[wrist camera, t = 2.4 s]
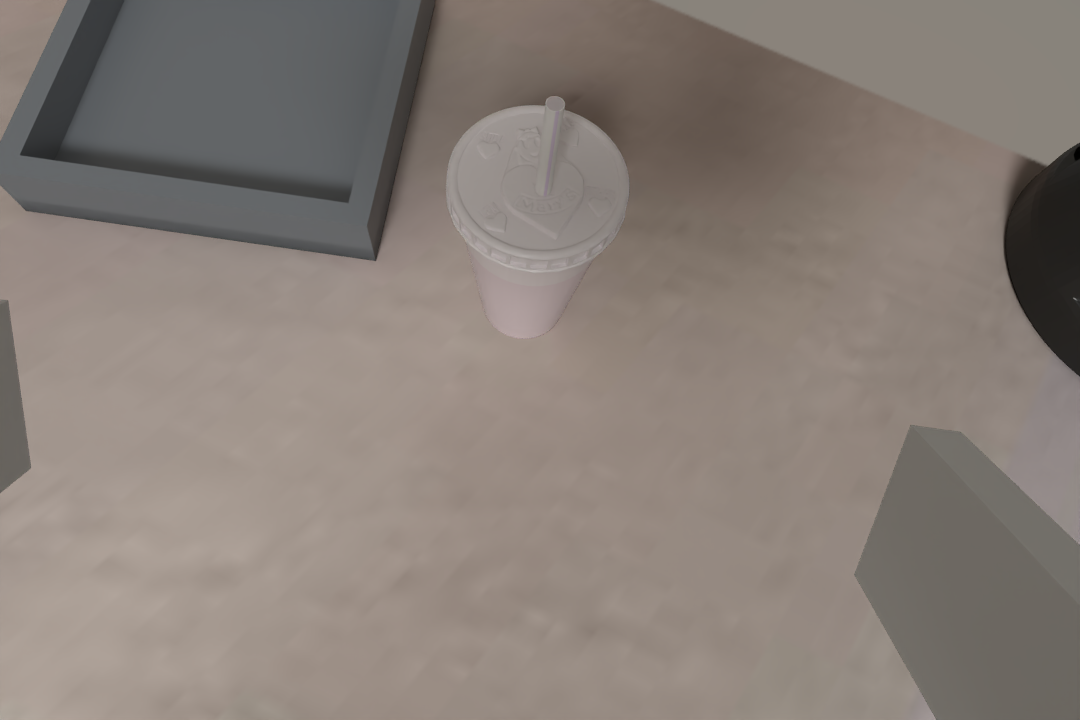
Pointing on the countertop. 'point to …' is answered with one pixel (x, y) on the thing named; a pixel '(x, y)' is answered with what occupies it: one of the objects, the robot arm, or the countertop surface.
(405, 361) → the countertop surface
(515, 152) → the smoothie
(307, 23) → the tray
